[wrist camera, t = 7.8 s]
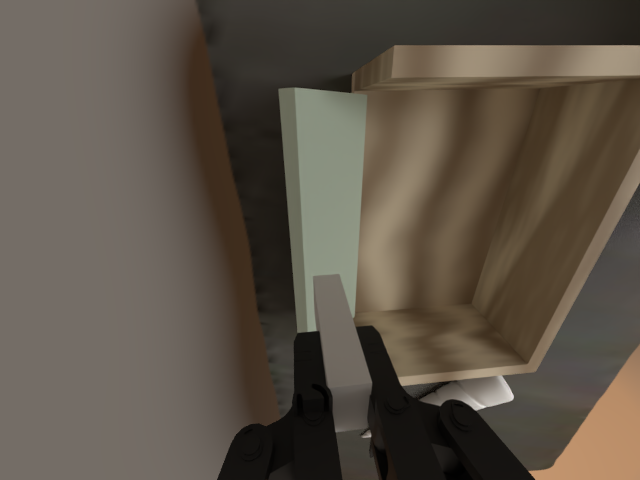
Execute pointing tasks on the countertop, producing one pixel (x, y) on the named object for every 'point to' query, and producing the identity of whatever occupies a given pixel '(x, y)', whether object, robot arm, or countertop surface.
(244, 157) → the countertop surface
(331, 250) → the pale green panel
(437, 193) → the box
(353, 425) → the robot arm
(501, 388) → the unicorn horn
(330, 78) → the countertop surface
